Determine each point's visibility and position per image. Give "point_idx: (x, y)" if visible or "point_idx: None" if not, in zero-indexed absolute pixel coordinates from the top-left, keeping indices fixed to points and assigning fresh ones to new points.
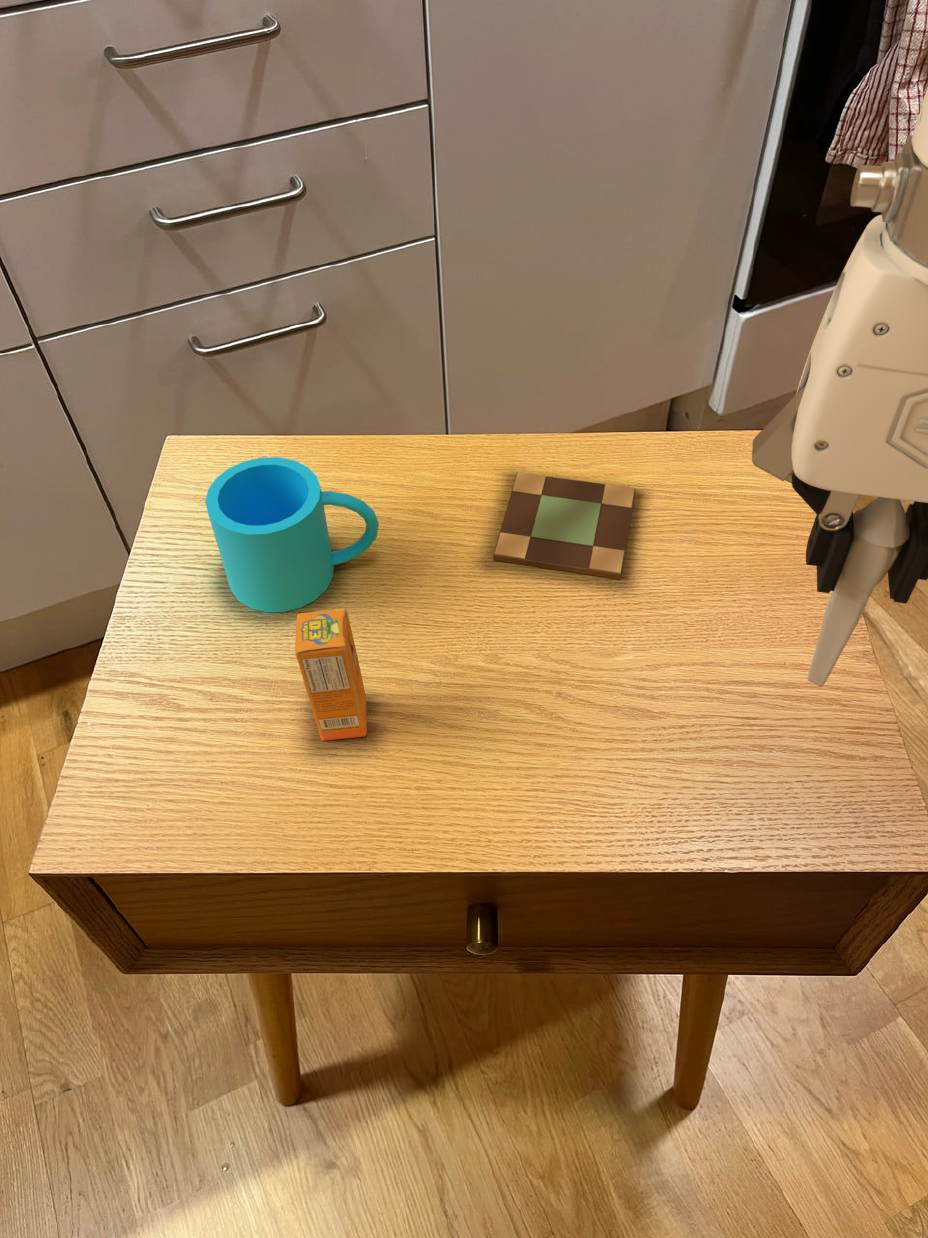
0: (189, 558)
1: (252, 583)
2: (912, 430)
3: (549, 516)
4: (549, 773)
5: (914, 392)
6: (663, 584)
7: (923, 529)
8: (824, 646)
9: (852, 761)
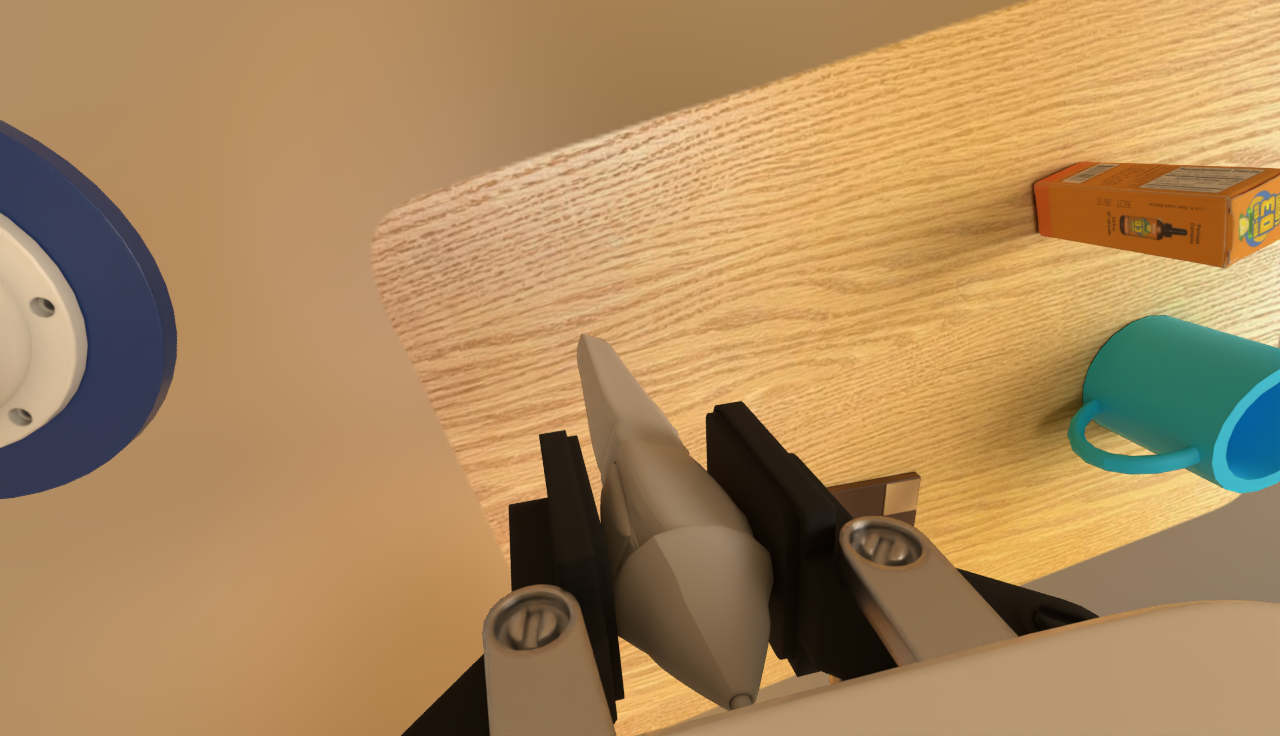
0: None
1: (1205, 330)
2: None
3: None
4: (823, 201)
5: None
6: None
7: (598, 618)
8: (619, 370)
9: (467, 339)
